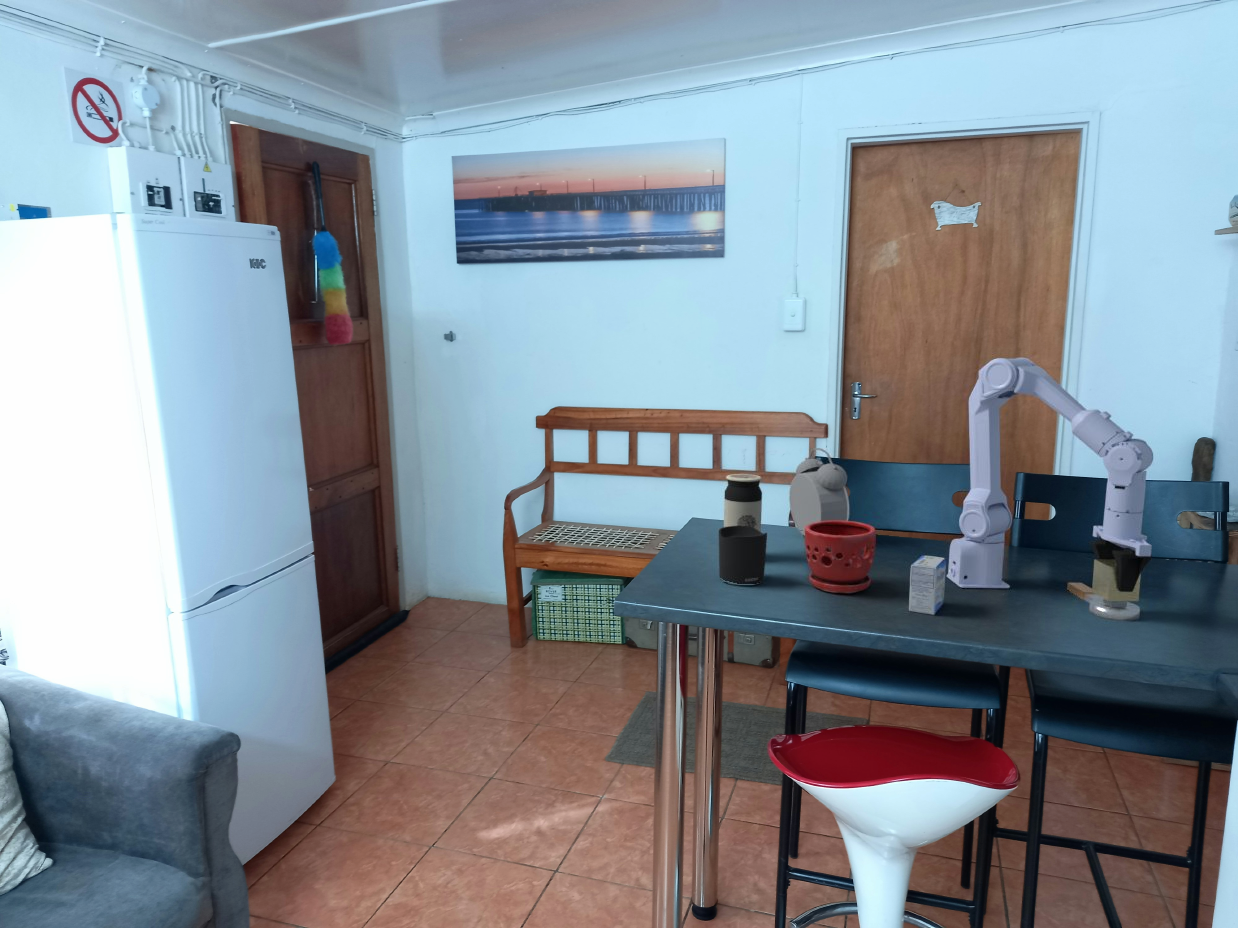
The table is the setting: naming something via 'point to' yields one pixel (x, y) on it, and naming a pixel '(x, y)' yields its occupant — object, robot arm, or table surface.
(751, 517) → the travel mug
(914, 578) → the medicine box
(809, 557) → the plant pot
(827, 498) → the alarm clock
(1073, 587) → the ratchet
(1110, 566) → the brushed metal cube
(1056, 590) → the table surface
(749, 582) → the pen holder
